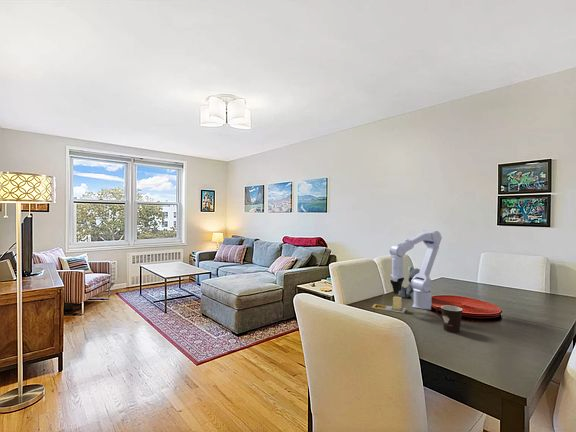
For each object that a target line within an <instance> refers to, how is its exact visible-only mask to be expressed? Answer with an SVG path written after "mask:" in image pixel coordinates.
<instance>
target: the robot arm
mask: <svg viewBox="0 0 576 432" xmlns="http://www.w3.org/2000/svg"><path fill="white" fill-rule="evenodd" d="M441 241H442V235H441V233H440V231H438V230H425V229H424V230H422V231H419V234H417V235H415V236H414V237H412V238H411V239H409V238H405V239H404V240H403V241H402V242H398V244H397V245H395V244H393V245H392V246H391V247H390V250H389V254H390V256H391V274H389V277H391V278H392V279H390V284H391V287H392V291H393V294H394V295H398V293H399V291H401V287H402V286H403V282H404V280H405V277H404V256H405V255H406V253H407V252H408V251H410V250H412V249H413V248H414V247H415V245H417V244H419V243H421V242H423V243H424V245H425V246H426V247H427V249H426V252H425V255H424V258H423V261H422V263H421V267H420V268H419V269H420V271H419V273H418V274H416V275H414V278H413V279H412V280H411V287H412V288H413V290H414V301H413V303H412V308H415V309H422V310H427V311H428V310H430V311H431V310H432V307H431V306H433V302H432V299H433V298H432V297H433V296H432V292H431V288H432V279H431V278H430V274H431V271H432V268H433V265H434V262H435V260H436V257H437V254H438V252H439V248H440V244H441ZM429 290H430V292H429Z"/></svg>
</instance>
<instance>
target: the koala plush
mask: <svg viewBox="0 0 576 432" xmlns="http://www.w3.org/2000/svg"><path fill="white" fill-rule="evenodd" d="M407 269H408V282H409V284H408V285H407V287H406V288H405V287H404V286H403V285H402V287H401V291H399V293H398V294H397V296H398V297H402V299H404V298H405V299H411V300H412V302H414V290H413V288H412V287H411V280H412V279H413V278H414V275H416V274H418V273H419V271H420V268H418V267H417V268H416V267H415V268H414V267H412V266H410V265H409V266H408V267H407ZM429 292H431V289H430V290H429Z"/></svg>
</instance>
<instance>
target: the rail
mask: <svg viewBox="0 0 576 432" xmlns="http://www.w3.org/2000/svg"><path fill="white" fill-rule="evenodd" d="M371 309H374V310H380V311H381V310H382V311H388V312H395V313H401V314H405V312H406V311H407V308H406V307H402V310H401V311H399V310H393V305H384V304H377V303H374V304H373V305H372V306H371Z"/></svg>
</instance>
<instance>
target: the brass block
mask: <svg viewBox="0 0 576 432" xmlns="http://www.w3.org/2000/svg"><path fill="white" fill-rule="evenodd" d="M392 306H393V309H392V310H399V311H402V308H403V297H400V296H393V297H392Z"/></svg>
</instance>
